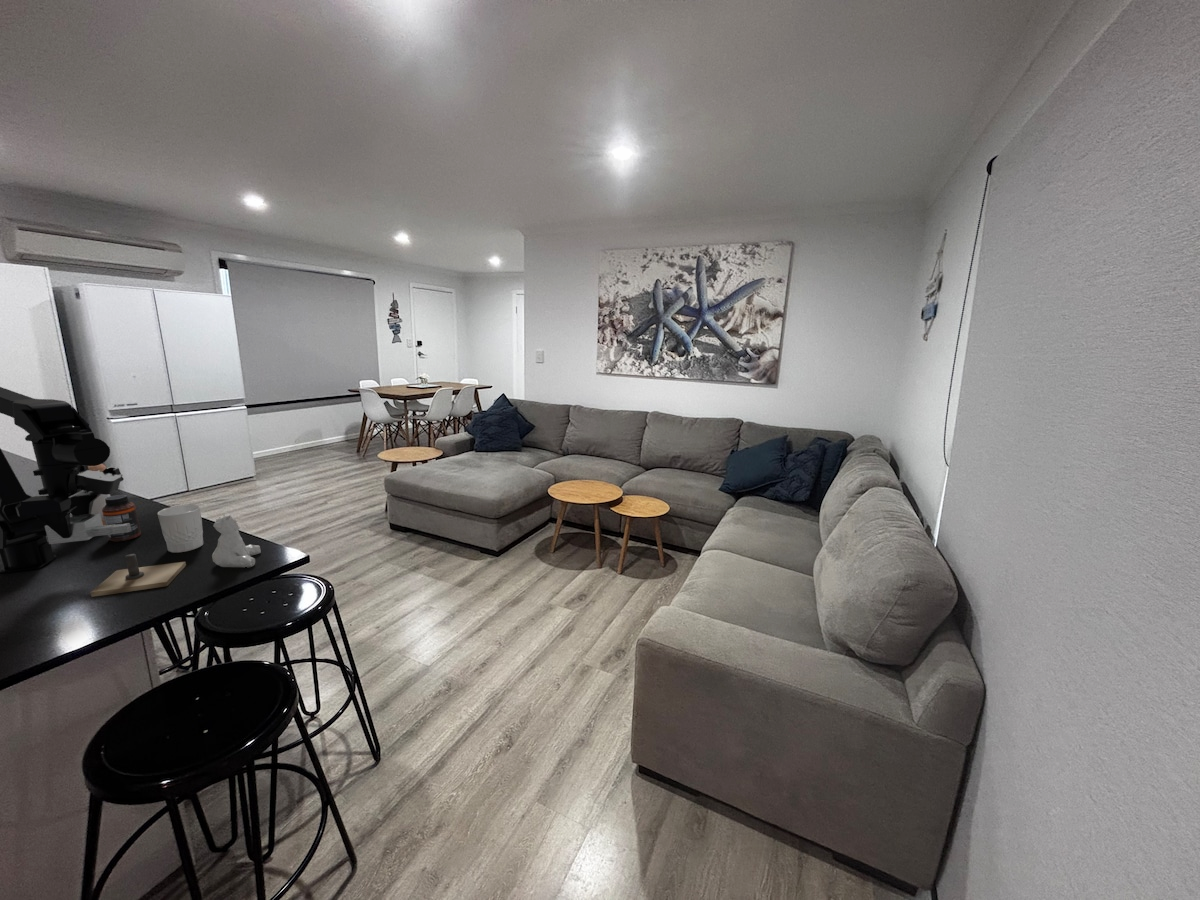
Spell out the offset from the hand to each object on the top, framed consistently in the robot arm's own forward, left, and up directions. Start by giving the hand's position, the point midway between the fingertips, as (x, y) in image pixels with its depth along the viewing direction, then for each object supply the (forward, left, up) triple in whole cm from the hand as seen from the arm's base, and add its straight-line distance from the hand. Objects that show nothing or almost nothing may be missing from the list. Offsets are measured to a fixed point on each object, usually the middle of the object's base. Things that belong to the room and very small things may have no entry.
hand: (76, 532), depth 100 cm
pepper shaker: (-11, +32, -10) cm, 36 cm away
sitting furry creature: (+28, -4, -10) cm, 30 cm away
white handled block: (+3, 0, -1) cm, 3 cm away
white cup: (+14, +10, -10) cm, 20 cm away
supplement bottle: (-2, +22, -10) cm, 24 cm away
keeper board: (+12, -7, -10) cm, 17 cm away
